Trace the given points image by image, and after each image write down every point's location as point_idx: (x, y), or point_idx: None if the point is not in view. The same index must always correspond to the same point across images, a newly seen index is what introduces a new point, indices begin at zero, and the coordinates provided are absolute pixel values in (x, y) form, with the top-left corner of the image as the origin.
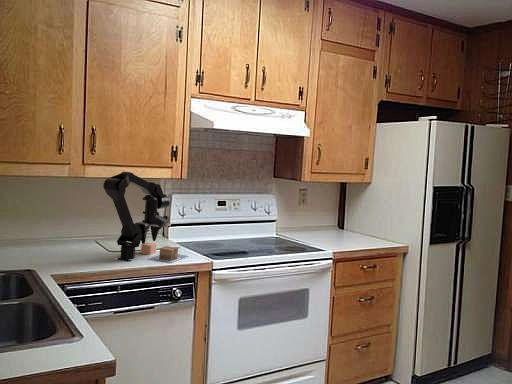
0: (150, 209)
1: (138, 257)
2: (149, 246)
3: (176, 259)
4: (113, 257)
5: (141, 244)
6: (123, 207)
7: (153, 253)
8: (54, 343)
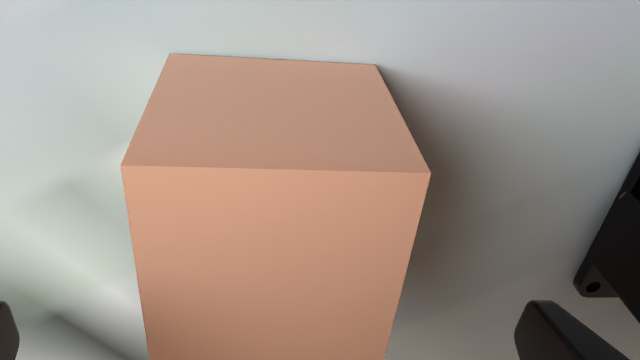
0: None
1: (519, 171)
2: (417, 190)
3: None
4: None
5: (380, 356)
6: None
7: (257, 71)
8: None
